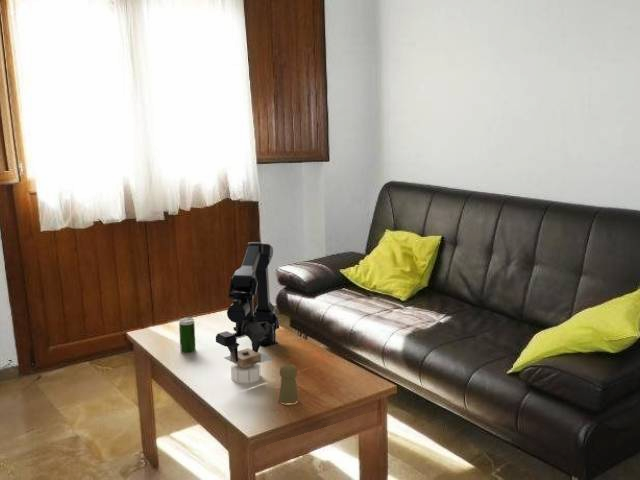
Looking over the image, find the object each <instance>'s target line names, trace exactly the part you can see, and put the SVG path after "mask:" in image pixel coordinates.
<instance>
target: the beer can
mask: <svg viewBox="0 0 640 480" xmlns="http://www.w3.org/2000/svg"><path fill="white" fill-rule="evenodd" d="M194 319H195V318H192V317H184V318H180V319H179V323H178V326H179V328H178V329H179V348H180V349H179V351H180V353H181V354H187V355H189V354H193V353H195V352H196V350H197V349H196V328H195V327H196V326H195V320H194Z"/></svg>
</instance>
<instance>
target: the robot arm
mask: <svg viewBox="0 0 640 480" xmlns="http://www.w3.org/2000/svg"><path fill="white" fill-rule="evenodd" d="M273 256H274V248H273V246H272V245H271V244H270V243H262V242H260V241H250V242H247V245H246V252H245V255H244V258H243V261H242V264H241V266H240V268H238V269H236V270H235V271H234V273H233V275H232V277H231V278H230V285H229V291H228V297H227V298H228V299H232V303H231V305H230V306H229V307H228V308H227V311H226V317H227V318H228V320H230V321H231V322H232V323H235V326H233V328H232V329H233V331H234V333H231V332H229V331H226V330H225V331H222V332H219V333H217V334H216V335H215V342H216V343H217V344H219V345H221V346H223V347H227V349H228V350H229V352H230V353H231V355H232V357H233V359H234V361H235V362H238V351H239V350H238V349H239V346H240V343H239V342H238V341H237V340H238V339H241V338H244V337H247V338H249V340H250V341H251V349H252V350H253V351H255V352H257V353H258V352H259V349H260V347H264V348H266V347H267V348H268V347H270V346H274V345H277V344H279V341H277V339H276V338H277V337H276V333H277V330H279V329H280V322H279V321H280V319H279V318H278V314H277V313H276V308H275V305H273V304H272V302H271V297H270V281H269V279H270V278H269V265H270V263H271V261H272V259H273ZM255 296H256V298H257V300H256V301H257V305H256V306H255V309H254V298H255Z"/></svg>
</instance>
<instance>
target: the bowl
mask: <svg viewBox="0 0 640 480" xmlns="http://www.w3.org/2000/svg"><path fill="white" fill-rule="evenodd" d="M230 372H231V373H230V374H231V380H232V381H233V382H235V383H238V384H252V383H255V382H258V381H259V380H261V363H256V364H252V365H249V366H246V367H241V366H239V365H237V364H235V363H233V362H232V364H231V366H230Z"/></svg>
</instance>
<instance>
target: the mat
mask: <svg viewBox="0 0 640 480" xmlns="http://www.w3.org/2000/svg"><path fill="white" fill-rule="evenodd" d="M250 349H251V350H252V348H250ZM258 353H259V354H261V362H259V363H260V364H261V363H264V362H267V361H270V360H273V358H271V357H270V356H268V355H265V354H263V353H261V352H259V351H258ZM224 359H225V360H227V361H229V362H231V361H230V355H229V356H225V357H224Z"/></svg>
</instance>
